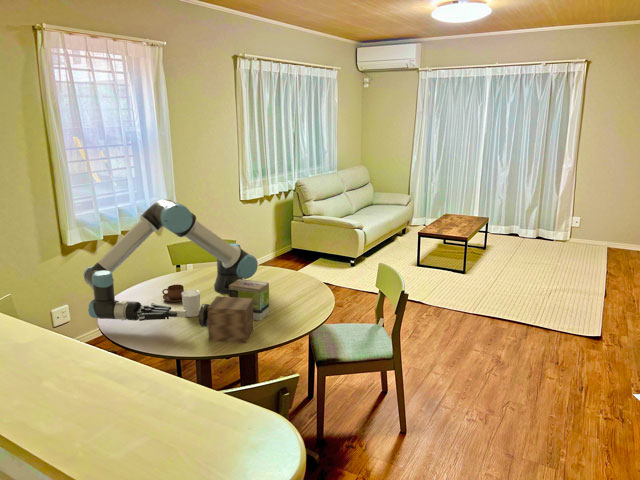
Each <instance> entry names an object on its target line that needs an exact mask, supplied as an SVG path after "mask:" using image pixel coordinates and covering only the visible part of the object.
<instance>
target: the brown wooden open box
mask: <svg viewBox="0 0 640 480" xmlns="http://www.w3.org/2000/svg"><path fill="white" fill-rule="evenodd" d="M207 328H208V329H207V330H208V341H209V342H218V343H233V344H235V343H236V344H247V343H248V342H249V340H250V338H251V335H252V334H253V332H254V320H253V298H237V297H229V296H216V297H215V298H214V299H213V300H212V302H211V303H210V304H209V307H208V326H207Z"/></svg>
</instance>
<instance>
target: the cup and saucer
mask: <svg viewBox="0 0 640 480" xmlns="http://www.w3.org/2000/svg"><path fill="white" fill-rule="evenodd" d="M165 291H167V293H165ZM184 291H185V289H184V285H182V284H171V285H169V286H167V288H164V289H163V290H162V291H161V292H162V294H163V295H162V299H164V301H166V302H170V303H177V302H182V292H184Z"/></svg>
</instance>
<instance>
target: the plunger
mask: <svg viewBox="0 0 640 480" xmlns="http://www.w3.org/2000/svg"><path fill="white" fill-rule="evenodd" d="M209 305H210V304H207V303H202V304H201V305H200V312H199V315H198V324H199V326H200V327H203V328H208V307H209Z"/></svg>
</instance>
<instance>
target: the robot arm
mask: <svg viewBox="0 0 640 480" xmlns="http://www.w3.org/2000/svg"><path fill="white" fill-rule="evenodd" d="M139 218H140V219H139V220H138V222H136V224H134V225H133V227H131V229H129V230H128V231H127V233H126V234H124V235H123V237H121V238H120V239H119V240H118V241H117V242H116V243H115V244H114V245H113V246H112V247H111V248H110V249H109V250H108V251H107V252H106V253H105V254H104V255H103V257H101V259H99V260H98V261H97V262H96V263H95V264H94V265H92V266H89V267H86V268H85V270H84V271H83V279H84V281H85V283H86V284H87V285H88V286H89V287H90V288H91V289H92V291H93V299H92V300H91V301H90V302H89V304H88V309H87V310H88V311H87V312H88V315H89V316H90V317H91V318H93V319H100V320H103V319H104V320H121V321H135V322H136V321H140V322H143V321H153V320H154V321H155V320H156V321H157V320H169V319H170V318H179V319H181V318H182V319H183V318H187V314H186V310H184V309H173V308H172V306H169V305H163V304H157V303H154V302H152V303H150V305H147V304H145V305H142V304H141V302H139V301H130V300H116V299H115V286H114V283H115V282H114V277H113V273H114V272H115V271H116V270H117V269H118V268H119V267H120V266H121V265H122V264H123V263H124V262H125V261H126V260H127V259H128V258H129V257H130V256H131V255H132V254H133V253H134V252H135V251H136V250H137V249H138V248H139V247H140V246H141V245H142V244H143V243H144V242H145V241H146V240H147V239H148V238H149V237H150V236H151V235H152V234H153V233H155V232H158V231H159V230H160V229H162V228H165V229H166V230H168V231H170V232H171V233H172V234H174V235H175V236H177V237H179V238H184V237H185V238H187V240H189V241H191V242H192V243H194V244H195V245H197V246H198V247H199V248H201V249H203V250H204V251H206V252H207V253H209V254H210V255H211V256H213V258H214V257H215V258H216V269H217V270H216V272H217V273H216V277H215V282H214V285H213V288H214V289H213V290H214V291H215V292H217V293H221V294H229V285H230V284H232V283H234V282H235V281H237V280H238V279H244V280H249V279H251V278H252V277H253V276H254V275H255V274H256V272H257V270H258V267H259V266H258V264H259V263H258V260H257V258H256V257H255V256H254V255H253V254H250V253H248V252H246V251H245V250H243V249H242V248H241V244H239V243H228V242H227V241H226V240H224V238H223V239H222V237H220V236H218V234H216V233H214V232H213V231H212V230H210V229H209V228H208V227H206V226H204V225H203V224H202V223H200V221H198V220H197V216H196V215H195V214H194V213H193V212H192V211H191V210H190V209H189V208H188V207H187V206H185V205H184V204H181V203H178V202H175V201H173V200H171V199H165V198H164V199H159V200H157V201H156V202H154V203H153V204H152V205H150V206H149V207H148V208H147V209H146V210H145V211H144V212H143V213H142V214H141V215H140V217H139Z"/></svg>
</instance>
